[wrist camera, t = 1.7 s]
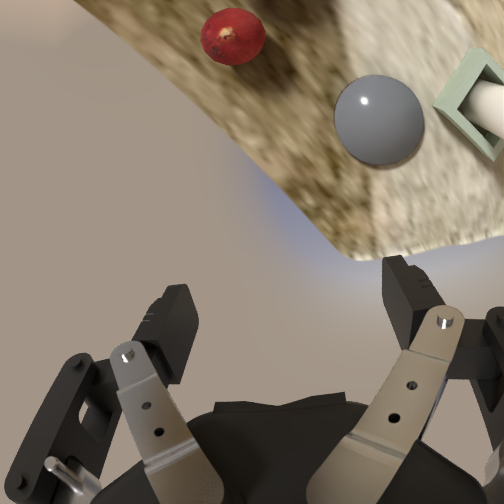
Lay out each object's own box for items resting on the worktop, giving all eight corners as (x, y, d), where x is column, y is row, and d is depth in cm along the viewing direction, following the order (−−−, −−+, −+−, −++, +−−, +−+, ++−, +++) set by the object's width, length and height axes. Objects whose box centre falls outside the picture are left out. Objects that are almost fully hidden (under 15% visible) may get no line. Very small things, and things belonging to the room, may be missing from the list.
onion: (236, 74, 30) (222, 81, 23) (199, 39, 28) (174, 36, 21) (278, 39, 27) (276, 35, 21) (240, 2, 25) (226, -11, 19)
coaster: (364, 56, 27) (367, 57, 26) (435, 111, 29) (439, 113, 28) (316, 130, 33) (317, 133, 32) (387, 177, 35) (390, 181, 34)
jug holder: (470, 47, 24) (483, 48, 21) (517, 99, 26) (530, 105, 23) (432, 105, 29) (443, 110, 26) (481, 153, 31) (493, 161, 28)
